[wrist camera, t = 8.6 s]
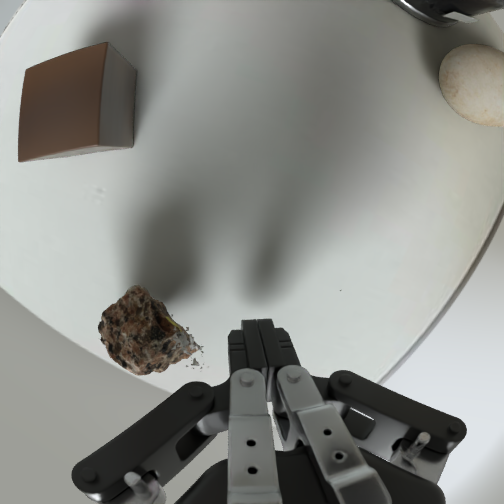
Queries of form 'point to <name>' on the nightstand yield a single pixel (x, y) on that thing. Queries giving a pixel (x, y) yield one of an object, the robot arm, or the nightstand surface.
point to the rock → (144, 334)
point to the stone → (474, 83)
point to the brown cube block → (77, 105)
